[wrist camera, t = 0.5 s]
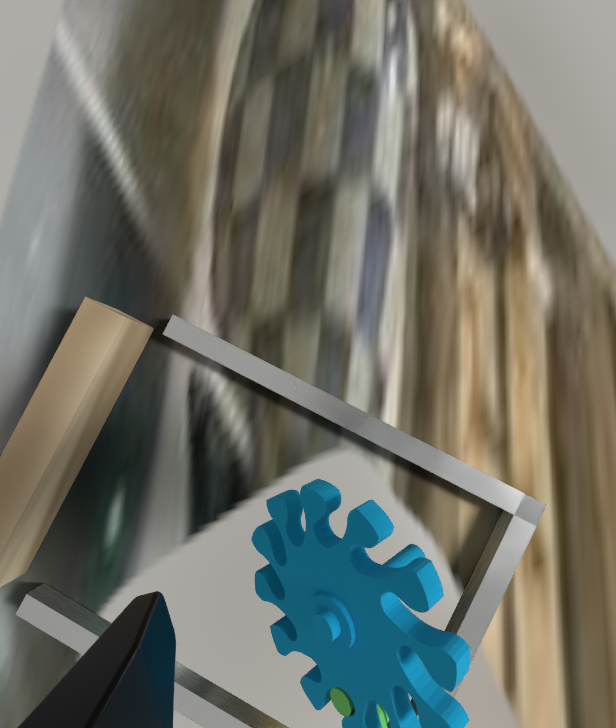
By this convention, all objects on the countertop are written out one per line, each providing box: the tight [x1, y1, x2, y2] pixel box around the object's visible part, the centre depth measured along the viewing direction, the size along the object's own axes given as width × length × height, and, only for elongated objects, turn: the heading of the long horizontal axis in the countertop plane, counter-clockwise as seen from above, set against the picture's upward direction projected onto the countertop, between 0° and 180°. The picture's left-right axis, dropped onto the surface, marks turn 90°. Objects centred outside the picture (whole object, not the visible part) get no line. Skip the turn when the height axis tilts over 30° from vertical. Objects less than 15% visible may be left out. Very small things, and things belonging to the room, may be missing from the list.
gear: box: [252, 479, 470, 728], centre depth 19 cm, size 11×6×10 cm
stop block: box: [0, 297, 154, 587], centre depth 21 cm, size 2×13×3 cm, turn 153°
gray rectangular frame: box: [16, 315, 546, 728], centre depth 21 cm, size 18×15×1 cm
